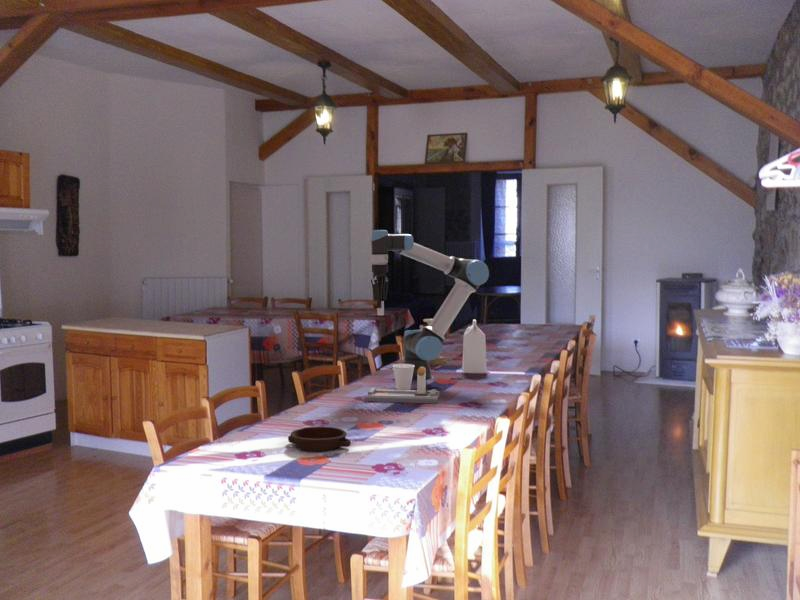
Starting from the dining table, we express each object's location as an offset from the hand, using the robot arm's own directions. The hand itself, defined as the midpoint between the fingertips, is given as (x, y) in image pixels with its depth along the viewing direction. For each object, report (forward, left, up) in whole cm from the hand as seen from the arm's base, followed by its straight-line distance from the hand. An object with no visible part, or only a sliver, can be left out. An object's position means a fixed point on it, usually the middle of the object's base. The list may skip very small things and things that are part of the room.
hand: (380, 315), depth 362 cm
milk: (-54, +23, -32) cm, 67 cm away
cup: (+7, +16, -32) cm, 37 cm away
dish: (+103, +38, -33) cm, 114 cm away
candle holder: (-64, -6, -32) cm, 72 cm away
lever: (+21, +32, -30) cm, 49 cm away
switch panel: (+24, +25, -32) cm, 47 cm away
